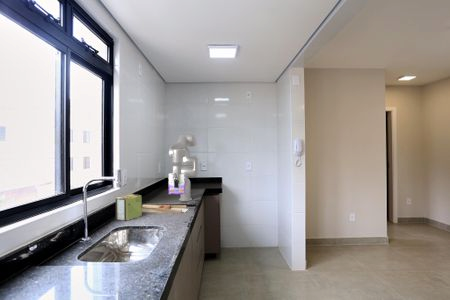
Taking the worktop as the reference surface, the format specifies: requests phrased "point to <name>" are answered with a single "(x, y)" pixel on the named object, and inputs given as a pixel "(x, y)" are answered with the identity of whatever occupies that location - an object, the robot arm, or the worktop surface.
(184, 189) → the candy box
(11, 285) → the worktop surface
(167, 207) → the frame
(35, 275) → the worktop surface
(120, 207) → the protein box
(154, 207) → the rail lane
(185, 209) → the pad
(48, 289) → the worktop surface
